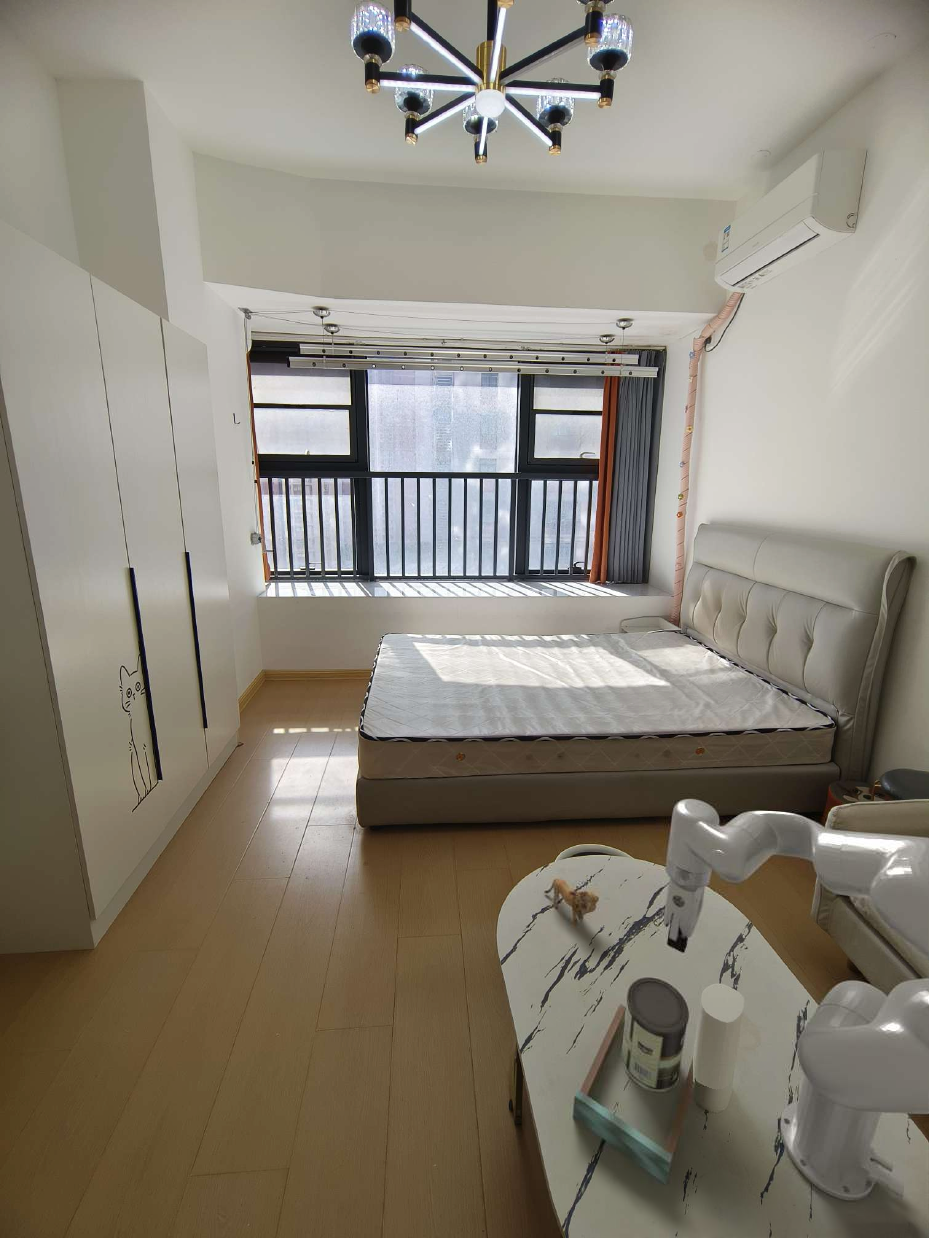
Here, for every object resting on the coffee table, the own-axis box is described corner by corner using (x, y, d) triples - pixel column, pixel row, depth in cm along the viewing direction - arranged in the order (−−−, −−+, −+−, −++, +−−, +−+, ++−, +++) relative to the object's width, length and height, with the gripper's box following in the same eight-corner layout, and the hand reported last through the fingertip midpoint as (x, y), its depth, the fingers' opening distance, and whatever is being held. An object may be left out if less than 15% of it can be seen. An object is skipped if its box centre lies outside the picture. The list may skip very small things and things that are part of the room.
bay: (700, 1063, 99) (704, 1043, 98) (666, 1184, 83) (669, 1162, 82) (618, 1015, 108) (620, 995, 107) (572, 1116, 92) (574, 1095, 90)
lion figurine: (600, 921, 130) (603, 890, 127) (587, 934, 126) (590, 903, 123) (550, 888, 140) (551, 859, 137) (537, 899, 136) (538, 870, 133)
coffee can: (674, 1038, 104) (683, 982, 100) (684, 1098, 94) (694, 1038, 90) (618, 1027, 106) (624, 971, 102) (622, 1085, 96) (629, 1026, 92)
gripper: (700, 902, 90) (686, 987, 96) (719, 851, 102) (707, 929, 107) (654, 882, 94) (644, 964, 100) (678, 835, 106) (668, 911, 111)
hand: (676, 945), depth 104 cm, fingers closed
